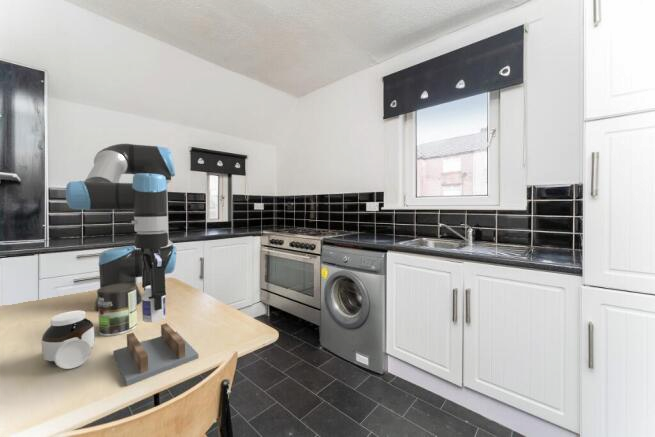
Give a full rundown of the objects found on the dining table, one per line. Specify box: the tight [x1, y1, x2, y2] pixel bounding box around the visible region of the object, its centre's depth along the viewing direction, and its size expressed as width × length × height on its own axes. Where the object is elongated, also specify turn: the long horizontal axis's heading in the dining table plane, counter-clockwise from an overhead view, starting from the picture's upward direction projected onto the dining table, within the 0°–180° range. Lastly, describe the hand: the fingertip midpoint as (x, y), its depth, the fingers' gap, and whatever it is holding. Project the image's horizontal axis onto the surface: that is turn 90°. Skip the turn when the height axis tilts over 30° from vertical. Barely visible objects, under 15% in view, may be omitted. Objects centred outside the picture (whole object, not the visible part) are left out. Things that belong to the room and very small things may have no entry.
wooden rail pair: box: [126, 322, 185, 373], centre depth 75 cm, size 16×10×4 cm, turn 46°
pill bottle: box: [141, 285, 166, 323], centre depth 74 cm, size 5×5×9 cm
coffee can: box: [96, 283, 138, 337], centre depth 91 cm, size 10×10×14 cm
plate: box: [112, 331, 199, 387], centre depth 75 cm, size 18×16×1 cm
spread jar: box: [41, 310, 95, 370], centre depth 73 cm, size 12×11×12 cm
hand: (154, 317), depth 74 cm, fingers closed on pill bottle, 5 cm apart
